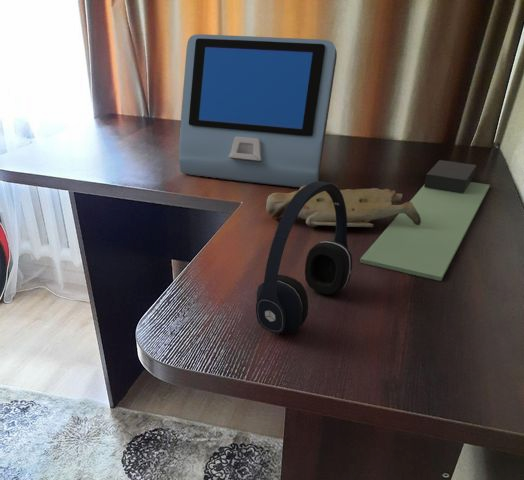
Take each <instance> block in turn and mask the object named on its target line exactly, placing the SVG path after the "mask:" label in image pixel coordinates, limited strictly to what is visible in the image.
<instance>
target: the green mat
mask: <svg viewBox="0 0 524 480" xmlns="http://www.w3.org/2000/svg"><path fill="white" fill-rule="evenodd" d="M424 185H425V183H424V184H423V186H421V187H420V189H419V190H418V191H417V192H416V194H415V195H414V196H413V197H412V198H411V199H410V201H409V202H412V204H413V205H414V207H415V209H416V210H417V212H418V213H419V215H420V218H421V219H420V220H421V223H420V225H419V226H418V225H415V224H414V223H413V221H412V220H411V219H410V218H409V217H408V216H407V215H406V214H402V213H401V214H397V215H396V217H394V219H393V220H392V222H390V224H388V226H387V227H386V228H385V229H384V231H383V232H382V233H381V234H380V235H379V236H378V238H377V239H376V240H375V241H374V242H373V243H372V244H371V246H370V247H369V248H368V249H367V250H366V251H365V252H364V253H363V255H362V256H361V257H360V259H359V264H364V265H370V266H373V267H378V268H382V269H386V270H390V271H395V272H400V273H404V274H408V275H412V276H417V277H421V278H425V279H429V280H435V281H439V282H442V280H443V278H444V276H445V275H446V272H447V271H448V269H449V267H450V265H451V263H452V261H453V259H454V257H455V255H456V253H457V251H458V249H459V248H460V246H461V244H462V242H463V240H464V238H465V236H466V233H467V232H468V230H469V228H470V226H471V224H472V222H473V220H474V218H475V217H476V215H477V212H478V211H479V208H481V205H482V203H483V201H484V200H485V197H486V195H487V193H488V191H489V189H490V187H491V184H488V183H481V182H475V181H474V182H473V181H471V182H470V183H469V185H468V187H467V188H466V190H465V191H464V193H459V192H452V191H446V190H440V189H434V188H428V187H424Z"/></svg>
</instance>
